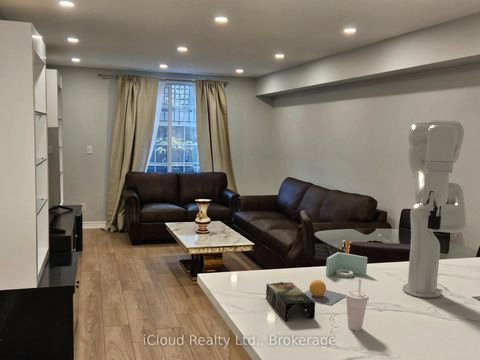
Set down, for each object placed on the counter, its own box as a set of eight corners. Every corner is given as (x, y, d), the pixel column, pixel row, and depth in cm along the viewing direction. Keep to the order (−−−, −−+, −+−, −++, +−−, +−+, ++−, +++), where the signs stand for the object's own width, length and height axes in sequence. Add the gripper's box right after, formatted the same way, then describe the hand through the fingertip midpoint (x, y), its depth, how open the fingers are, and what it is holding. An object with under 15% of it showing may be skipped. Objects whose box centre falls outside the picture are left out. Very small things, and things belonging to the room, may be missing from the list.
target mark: (315, 287, 165) (315, 287, 165) (346, 295, 158) (346, 295, 158) (297, 296, 155) (297, 295, 155) (330, 305, 148) (330, 304, 148)
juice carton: (262, 298, 153) (263, 280, 153) (291, 296, 156) (292, 279, 155) (284, 323, 134) (285, 303, 133) (315, 321, 137) (317, 301, 136)
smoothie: (367, 333, 128) (370, 284, 126) (343, 331, 129) (346, 281, 128) (365, 324, 134) (369, 277, 133) (343, 322, 135) (346, 274, 134)
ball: (330, 282, 156) (325, 297, 157) (315, 275, 159) (311, 290, 160) (324, 286, 152) (320, 301, 153) (309, 279, 154) (305, 294, 155)
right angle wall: (325, 277, 179) (326, 258, 178) (336, 270, 189) (337, 252, 188) (356, 283, 173) (357, 263, 172) (366, 275, 183) (367, 257, 182)
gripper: (432, 165, 146) (428, 223, 147) (417, 167, 134) (412, 230, 136) (458, 167, 141) (453, 227, 143) (445, 169, 129) (440, 234, 131)
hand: (433, 228), depth 139 cm, fingers closed
